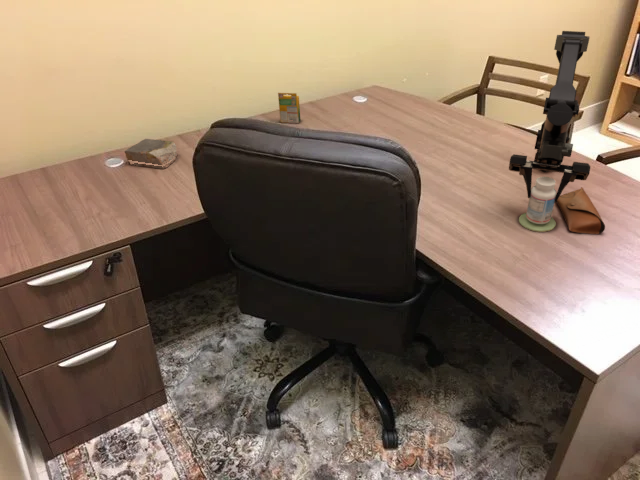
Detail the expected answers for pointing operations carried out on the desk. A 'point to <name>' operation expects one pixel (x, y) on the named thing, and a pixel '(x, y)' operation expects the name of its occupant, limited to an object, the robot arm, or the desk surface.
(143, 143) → the geological specimen
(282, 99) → the crayon box
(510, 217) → the desk surface
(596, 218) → the sunglasses case
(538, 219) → the pill bottle
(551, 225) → the felt coaster
